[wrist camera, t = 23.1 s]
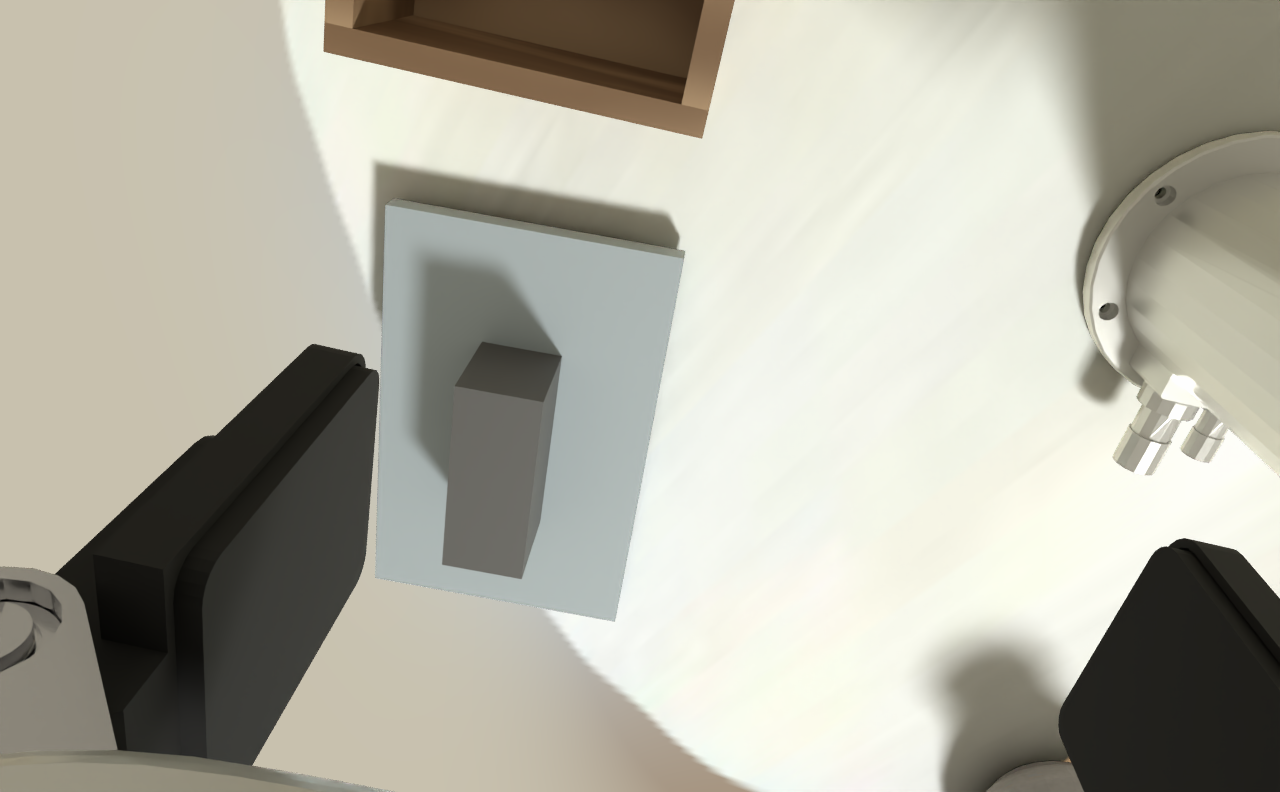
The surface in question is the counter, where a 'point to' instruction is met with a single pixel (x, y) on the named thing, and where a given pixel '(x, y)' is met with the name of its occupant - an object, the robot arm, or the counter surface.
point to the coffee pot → (1039, 778)
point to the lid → (516, 404)
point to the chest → (552, 50)
